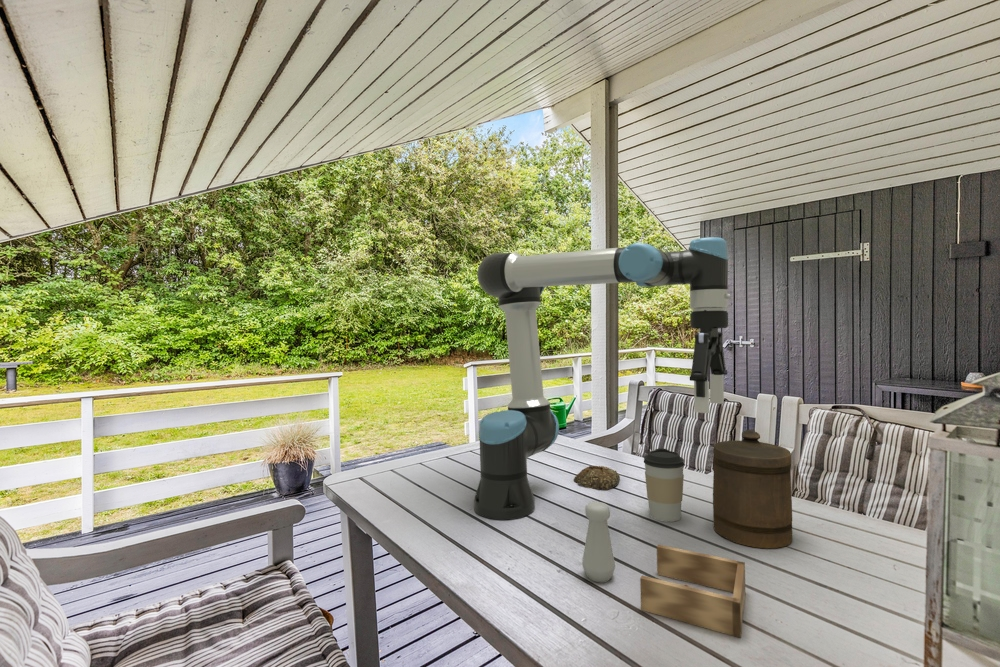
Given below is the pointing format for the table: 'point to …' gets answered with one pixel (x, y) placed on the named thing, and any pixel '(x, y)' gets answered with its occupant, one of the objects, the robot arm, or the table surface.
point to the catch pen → (696, 590)
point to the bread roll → (597, 478)
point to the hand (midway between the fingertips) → (709, 407)
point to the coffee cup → (664, 484)
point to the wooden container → (752, 492)
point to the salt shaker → (598, 544)
